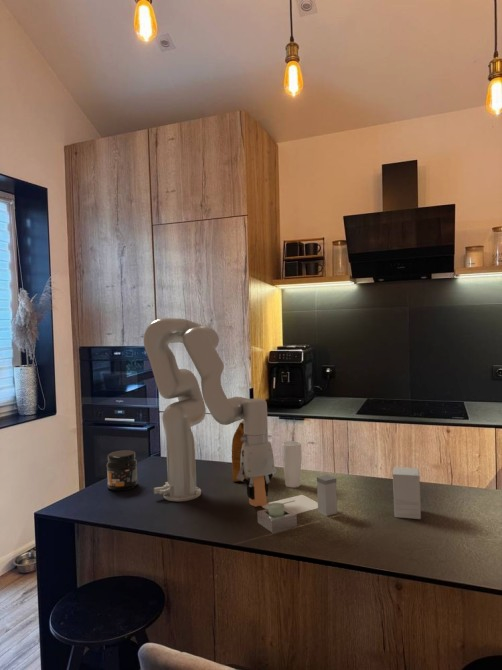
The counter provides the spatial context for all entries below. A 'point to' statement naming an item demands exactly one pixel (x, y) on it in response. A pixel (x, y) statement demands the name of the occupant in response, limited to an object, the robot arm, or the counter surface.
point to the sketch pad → (296, 504)
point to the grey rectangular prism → (327, 495)
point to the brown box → (258, 492)
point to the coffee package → (237, 451)
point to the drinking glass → (292, 463)
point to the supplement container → (122, 470)
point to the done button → (276, 509)
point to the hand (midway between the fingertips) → (257, 496)
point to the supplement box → (406, 492)
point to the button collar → (277, 520)
